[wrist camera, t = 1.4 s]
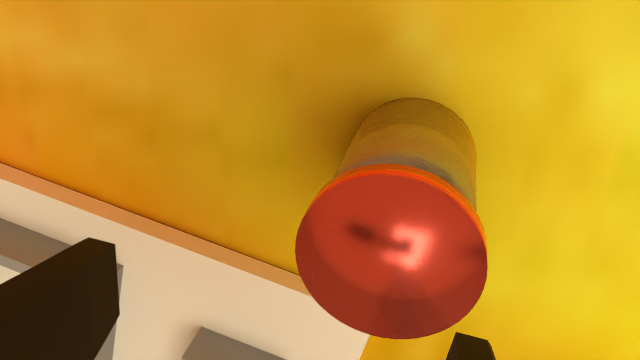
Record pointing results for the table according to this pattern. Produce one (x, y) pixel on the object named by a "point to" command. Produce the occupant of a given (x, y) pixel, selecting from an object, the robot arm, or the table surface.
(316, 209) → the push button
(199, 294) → the socket board
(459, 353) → the robot arm
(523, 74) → the table surface
